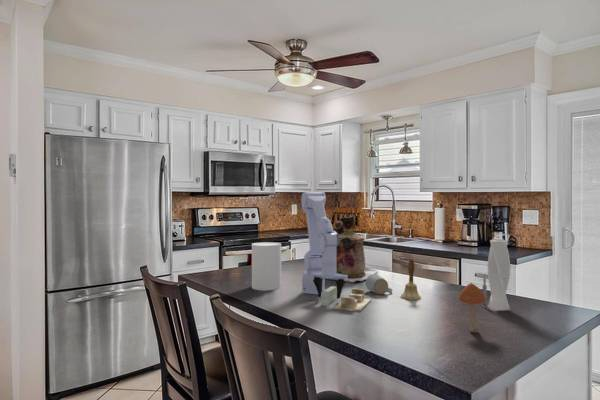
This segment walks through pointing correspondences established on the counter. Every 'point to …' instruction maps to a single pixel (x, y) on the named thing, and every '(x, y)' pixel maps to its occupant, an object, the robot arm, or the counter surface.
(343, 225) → the cookie jar
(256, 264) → the canister
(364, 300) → the display stand
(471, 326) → the mushroom
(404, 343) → the counter surface
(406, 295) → the hand bell
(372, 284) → the ceramic mug
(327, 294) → the glasses case
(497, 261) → the white twisted vase
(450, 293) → the counter surface
